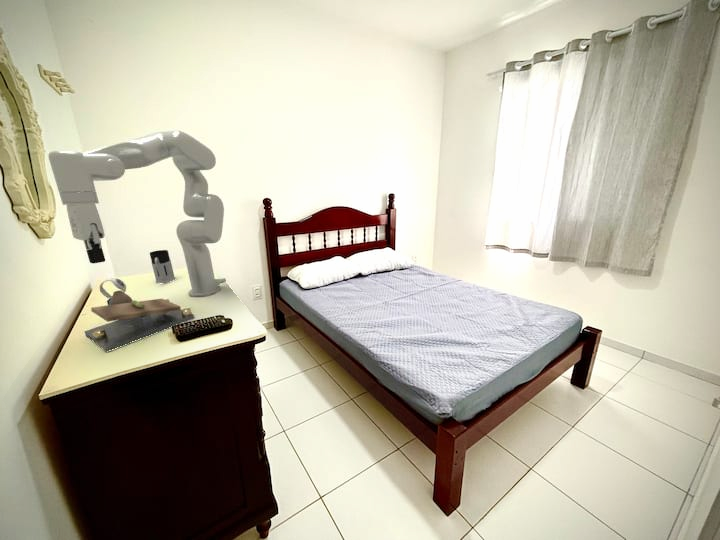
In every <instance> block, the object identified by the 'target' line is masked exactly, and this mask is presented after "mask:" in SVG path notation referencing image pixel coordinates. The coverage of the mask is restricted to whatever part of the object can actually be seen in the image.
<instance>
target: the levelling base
mask: <svg viewBox="0 0 720 540" xmlns="http://www.w3.org/2000/svg"><path fill="white" fill-rule="evenodd" d="M165 300H167V301H169V302H170V299H167V298H166V299H165ZM193 319H195V314H193V313H192V309H191V308H190V307H188V308H187V307H186V308H183V309H182V308H181V310H175V311H169V312H163V313H157V314H151V315H146V316H139V317H133V318H127V319H121V320H115V321H110V322H107V323H106V324H102V325H100V326H97V327H94V328H91V329H87V330H84V332H83V333H84V335H85V337H87V336H88V337H89V338H90V340H91V341H92V340H93V341H94V342H95V344H96V343H97V344H98V345H99V346H100V347H99V346H98V345H97V344H96V345H97V346H98V347H99V348H101V347H102V348H103V349H104V350H105V352H106V351H109V350H112V349H115V348H117V347H120V346H123V345H125V344H128V343H130V342H132V341H135V340H138V339H140V338H143V337H146V336H148V337H150V336H149V335H151V334H153V335H155V334H154V333H156V332H158V333H160V332H159V331H161V332H163V331H165V330H164V329H166V330H167V328H168V329H170V328H169V327H171V326H173V325H176V324H179V325H181V324H183V323H182V322H184V323H186V322H189V321H190V320H193ZM188 320H189V321H188ZM180 323H181V324H180ZM176 326H177V325H176ZM173 327H174V326H173ZM171 328H172V327H171ZM162 330H163V331H162ZM156 334H157V333H156ZM151 336H152V335H151ZM88 337H87V338H88ZM89 338H88V339H89ZM146 338H147V337H146ZM143 339H144V338H143ZM93 341H92V342H93ZM138 341H139V340H138ZM94 342H93V343H94ZM128 345H129V344H128ZM125 346H126V345H125ZM123 347H124V346H123ZM102 348H101V349H102ZM120 348H121V347H120ZM103 349H102V350H103ZM104 350H103V351H104ZM115 350H116V349H115Z"/></svg>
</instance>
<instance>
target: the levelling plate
mask: <svg viewBox="0 0 720 540" xmlns="http://www.w3.org/2000/svg"><path fill="white" fill-rule="evenodd" d="M181 307H182V306H181V305H178V304H176V303H174V302H172V301H170V300H169V301H167V300H166V299H165V298H156V299H149V300H148V299H147V300H139V301H138V300H136V299H135V300H133V301H132V302H131V303H123V304H115V305H108V304H107V305H103V306H94V307H93V306H92V307H91V309H90V311H91V312H92V313H93V314H95V315H96V316H98V317H100V318H101V319H102V320H104V321H105V322H107V323H110V322H114V321H117V320H121V319H127V318H133V317H139V316H146V315H151V314H157V313H163V312H169V311H175V310H181V309H182V308H181Z"/></svg>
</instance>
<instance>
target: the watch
mask: <svg viewBox="0 0 720 540" xmlns="http://www.w3.org/2000/svg"><path fill="white" fill-rule="evenodd" d="M106 282H111V283H112V285H113V286H114V287H116V288H117V289H118V290H121V291H122V292H124V293H125V294H126V292H127V284H125V282H124V281H123V280H122V279H119V278H114V277H111V278H107V279H105V280H104V281H102V282H101V283H100V285H99V292H100V293H101V294H102V295H103V297H105V298H106V299H108V300H106V303H107V306H108V305H109V302H110V299H111V297H112V296H113V295H111V294H110V293H108V291H106V289H105V288H104V287H103V285H104V283H106Z"/></svg>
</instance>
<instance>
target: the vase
mask: <svg viewBox="0 0 720 540" xmlns="http://www.w3.org/2000/svg"><path fill="white" fill-rule="evenodd" d="M112 294H113V295H111V296H112V297H111V299H110V302H109V305H115V304H123V303H131V302H132V301H134V300H133V298H132V297H131V296H130V295H128V294H127V293H126V292H125V293H124V292H123V291H122V290H121V289H119V290H115V291H113V293H112Z"/></svg>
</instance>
